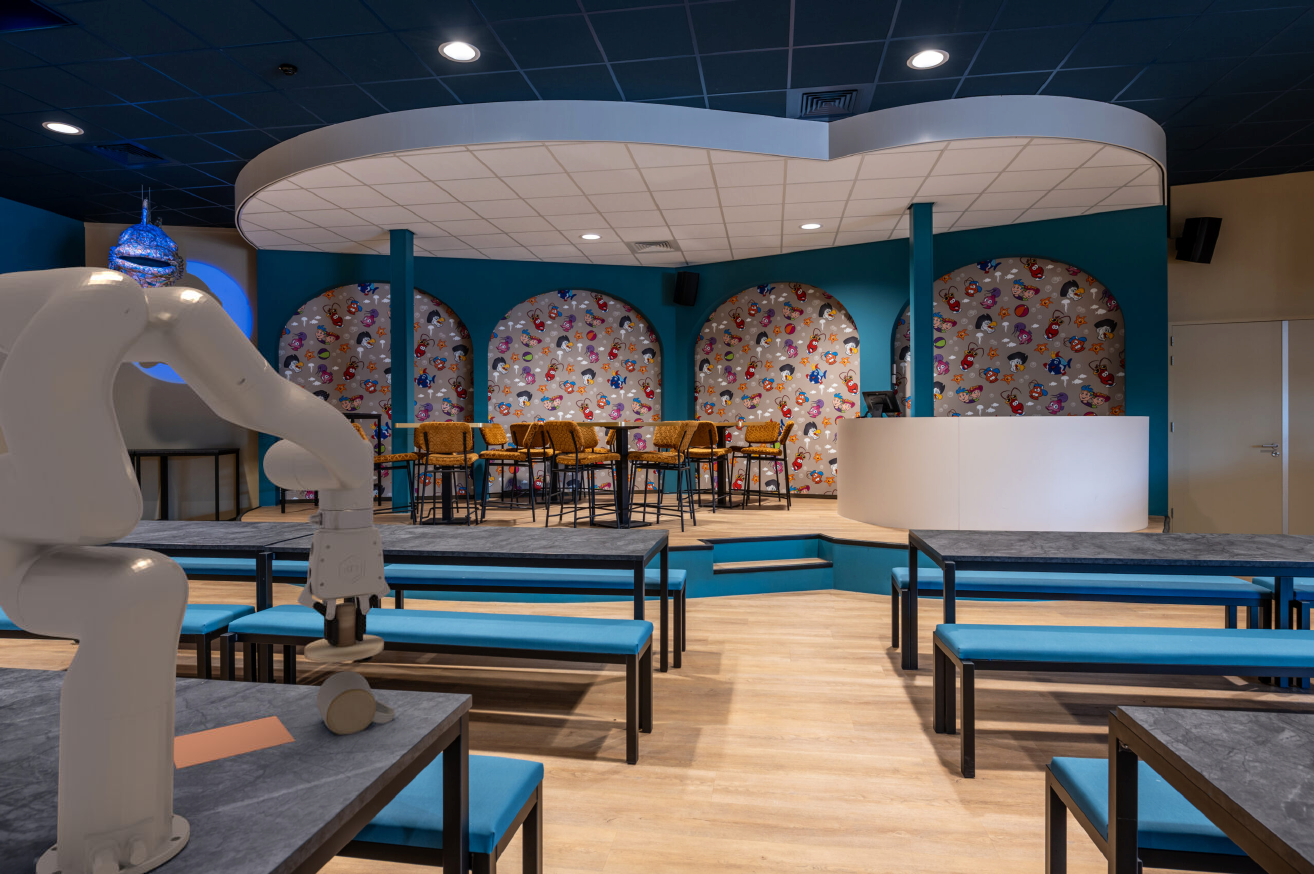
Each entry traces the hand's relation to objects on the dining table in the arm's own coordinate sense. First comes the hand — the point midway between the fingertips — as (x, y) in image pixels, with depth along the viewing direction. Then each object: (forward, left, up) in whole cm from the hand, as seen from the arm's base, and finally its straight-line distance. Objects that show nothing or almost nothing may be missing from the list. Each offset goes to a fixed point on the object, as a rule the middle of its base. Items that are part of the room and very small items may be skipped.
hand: (345, 640), depth 107 cm
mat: (+4, +14, -13) cm, 20 cm away
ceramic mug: (0, -2, -13) cm, 14 cm away
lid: (0, 0, -2) cm, 2 cm away
